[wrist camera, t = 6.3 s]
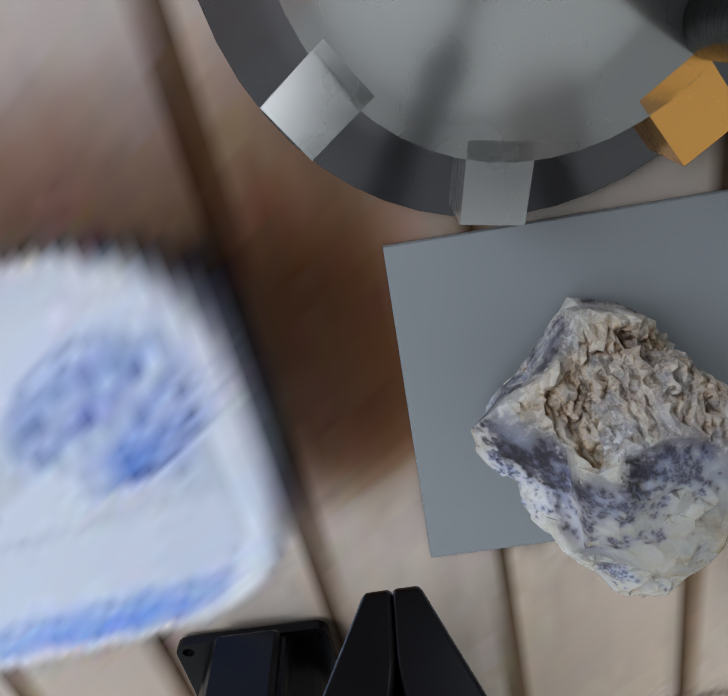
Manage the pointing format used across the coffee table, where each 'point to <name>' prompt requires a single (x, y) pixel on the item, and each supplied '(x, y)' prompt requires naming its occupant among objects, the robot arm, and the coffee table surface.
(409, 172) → the sprocket base
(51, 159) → the coffee table surface
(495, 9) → the sprocket
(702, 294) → the slate mat
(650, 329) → the mineral specimen
